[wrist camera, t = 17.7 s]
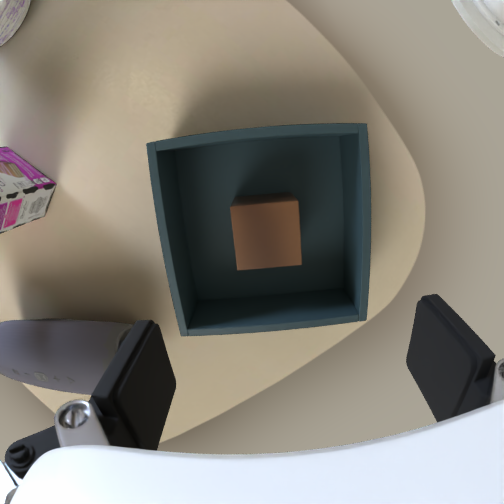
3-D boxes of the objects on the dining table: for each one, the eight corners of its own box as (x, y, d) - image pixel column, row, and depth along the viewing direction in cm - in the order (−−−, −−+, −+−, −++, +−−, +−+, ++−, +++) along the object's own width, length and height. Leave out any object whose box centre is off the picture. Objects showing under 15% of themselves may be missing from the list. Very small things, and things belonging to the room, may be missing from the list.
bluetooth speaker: (35, 355, 38) (4, 392, 29) (14, 305, 35) (-25, 337, 26) (156, 363, 37) (134, 417, 28) (137, 302, 34) (103, 350, 25)
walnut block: (290, 191, 29) (298, 200, 24) (294, 245, 31) (302, 265, 26) (234, 196, 30) (229, 206, 24) (240, 250, 31) (237, 270, 26)
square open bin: (343, 128, 28) (367, 123, 22) (348, 290, 34) (366, 320, 27) (168, 144, 29) (145, 143, 22) (193, 303, 34) (180, 336, 28)
